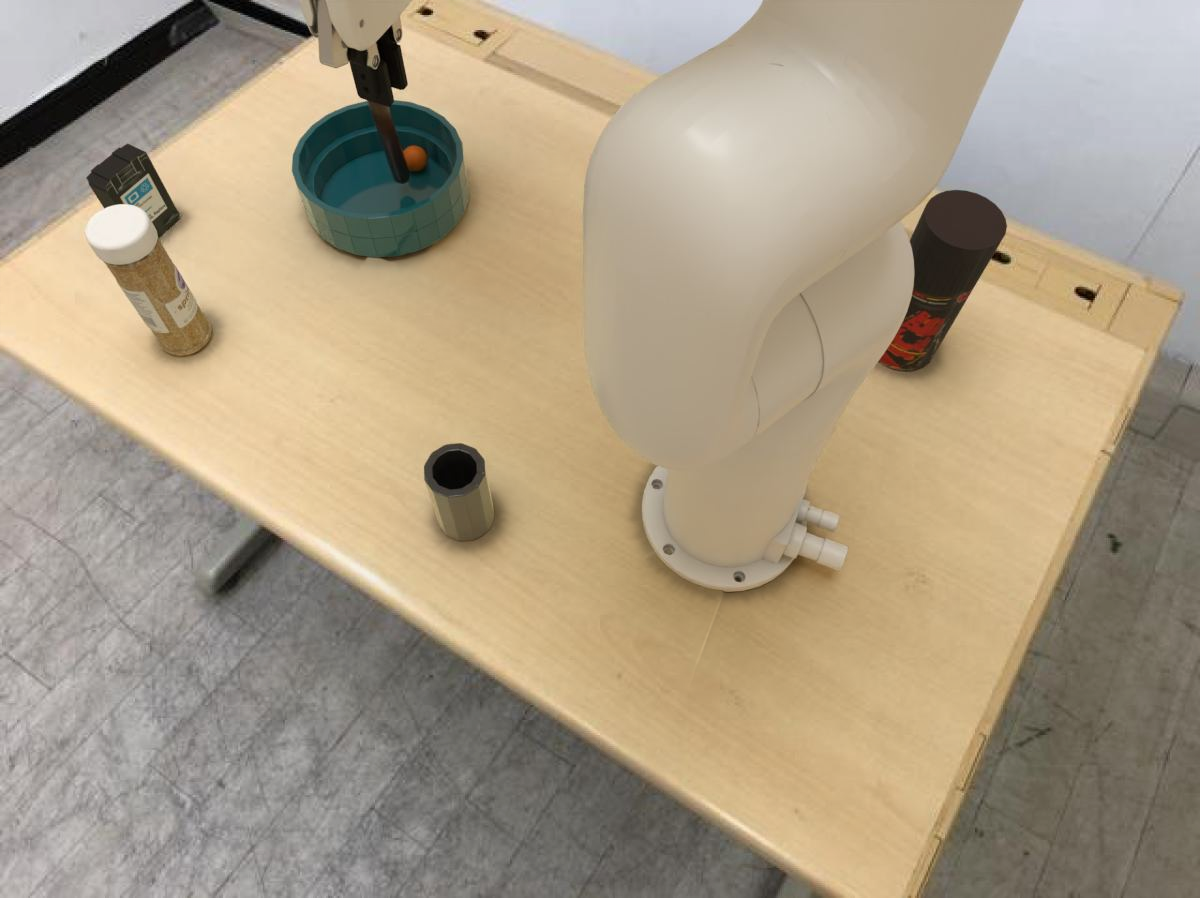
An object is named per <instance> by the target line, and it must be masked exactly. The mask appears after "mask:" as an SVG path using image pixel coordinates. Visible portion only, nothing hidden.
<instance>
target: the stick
mask: <svg viewBox="0 0 1200 898" xmlns="http://www.w3.org/2000/svg"><path fill="white" fill-rule="evenodd" d="M366 101H367V102H368V105H369V108H370V111H371V114H372V117H373V120H374V122H375V125H376V128H377V131H378V134H379V137H380V140H381V143H382V146H383V149H384V152H385V155H386V158H387V161H388V164H389V167H390V170H391V173H392V176H393V179H394V180H395V181H396V182H397V183H399V184H405V183H407V182H408V181H409V178H410V173H409V169H408V166H407V163H406V160H405V157H404V153H403V150H402V147H401V144H400V141H399V138H398V134H397V131H396V128H395V125H394V122H393V119H392V115H391V112H390V109H389V107H387V106H384V105H381V104H377V103H374V102H371V101H368V100H366Z"/></svg>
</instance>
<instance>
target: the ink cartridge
mask: <svg viewBox="0 0 1200 898" xmlns="http://www.w3.org/2000/svg"><path fill="white" fill-rule="evenodd" d="M85 179H86V180H87V182H88V185H89V187H90V189H91V191H92V192H93V193H94V195H95V196H96V198H97V199H98V201H99V202H100V204H101V206H102V208H103V209H104V208H106V207H109V206H113V205H118V204H129V205H134V206H137V207H139V208H141V209H142V210H143V211H145V213H146V214H147V215H148V217H149V218H150V220H151V221H152V223H153V225H154V227H155V228H156V230H157V234H158V239H160V237H161V236H162V235H163V234H164V233H166V232H167V231H168V230H169V229H170V228H172V226H174V225H175V224H176V223H177V222H178V220H179V219H180V214H181V213H180V211H179V210H178V209H177V206H176V205H175V203H174V201H173V200H172V198H171V195H170V194H169V192H168V190H167V188H166V186H165V184H164V182H163V181H162V179H161V177H160V175H159V173H158V171H157V169H156V168H155V166H154V164H153V162H152V160H151V158H150V157H149V154H148V153H147V151H145V150H143V149H140V148H138V147H136V146H134V145H132V144H130V143H126V144H124V145H123V146H122V147H120V146H119V147H118V148H117V149H115V150H113V151H112V152H111V154H110V155H109V156H107V157H106V158H105V159H104V160H102V162H100V163H99V164H97V165H95V166H94V167H93V168H92V169H91V170H90V172H89V174H88V175H87V176H86V177H85Z"/></svg>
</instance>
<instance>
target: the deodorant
mask: <svg viewBox="0 0 1200 898" xmlns="http://www.w3.org/2000/svg"><path fill="white" fill-rule="evenodd" d="M1007 229H1008V224H1007V219H1006V216H1005V215H1004V213H1003V210H1001V209H1000V207H999V206H997V204H996V203H994V202H993V201H992V200H990V198H988V197H986V196H983V195H982V194H980V193H977V192H973V191H970V190H966V189H965V190H963V189H951V190H944V191H941V192H939V193H937V194H935V195H933V196H932V197H931V198H929V200H928V201H927V203H926V204H925V206H924V208H923V211H922V213H921V214H920V217H919V220H918V222H917V224H916V226H915V228H914V230H913V233H912V235H911V237H910V238H909V241H910V244H911V247H912V252H913V258H914V286H913V292H912V297H911V300H910V304H909V307H908V310H907V313H906V315H905V318H904V320H903V322H902V324H901V326H900V328H899V330H898V332H897V334H896V335H895V337H894V339H893V340H892V342H891V343H890V345H889V347H888V348H887V350H886V351H885V353H884V354H883V355H882V357H881V358H880V360H879V361H878V362H879V363H880V364H881V365H883V366H884V367H886V368H889V369H892V370H895V371H899V372H914V371H918V370H920V369H923V368H925V367H926V366H927V365H928V364H930V363H931V361H932V360H933V358H934V356H935V355H936V353H937V352H938V350H939V348H940V346H941V345H942V343H943V342H944V339H945V337H946V336H947V335H948V333H949V331H950V329H951V327H952V326H953V325H954V323H955V321H956V319H957V317H958V316H959V314H960V313H961V311H962V309H963V307H964V305H965V304H966V302H967V300H968V299H969V297H970V295H971V294H972V292H973V290H974V288H975V287H976V285H977V284H978V281H979V280H980V279H981V277H982V276H983V274H984V271H985V269H986V268H987V266H988V265H989V263H990V261H991V260H992V258H993V256H994V255H995V253H996V251H997V249H998V248H999V246H1000V244H1001V243H1002V241H1003V239H1004V238H1005V235H1006V234H1007Z"/></svg>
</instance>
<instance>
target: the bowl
mask: <svg viewBox="0 0 1200 898" xmlns="http://www.w3.org/2000/svg"><path fill="white" fill-rule="evenodd" d="M389 109H390V112H391V115H392V119H393V122H394V125H395V128H396V131H397V134H398V138H399V141H400V144H401V147H402V150H403V151H404V150H405V149H406V148H407V147H409V146H413V145H414V146H419V147H421V148H422V149H423V150H424V151H425V152H426V155H427V164H426V166H425V168H424V169H422V170H421V171H418V172H413V171H410V170H409V173H410V178H409V181H408V182H407V183H405V184H399V183H397V182H396V181H395V180H394V179H393V176H392V173H391V170H390V167H389V164H388V161H387V158H386V155H385V152H384V149H383V146H382V143H381V140H380V137H379V134H378V131H377V128H376V125H375V122H374V120H373V117H372V114H371V111H370V108H369V105H368V102H367V100H364V101H361V102H357V103H353V104H349V105H346V106H343V107H341V108H338V109H336V110H334V111H332V112H330V113H327V114H326V115H324V116H323V117H321V118H320V119H318V120H317V121H316V122H315V123H313V124H312V125H311V126H310V127H309V128H308V129H307V130H306V132H305V133H303V135H302V136H301V137H300V138H299V140H298V142H297V143H296V147H295V149H294V151H293V153H292V159H291V160H292V162H291V173H292V176H293V179H294V182H295V185H296V187H297V190H298V193H299V196H300V198H301V201H302V204H303V207H304V209H305V212H306V215H307V218H308V220H309V223H310V225H311V227H312V228H313V229H314V231H315V232H316V233H317V234H318V236H319V237H320V238H321V239H322V240H324V241H325V242H327V243H328V244H330V245H331V246H333V247H334V248H335V249H337V250H340V251H344V252H347V253H349V254H353V255H356V256H359V257H360V256H361V257H370V258H389V257H400V256H404V255H407V254H412V253H415V252H418V251H421V250H423V249H426V248H427V247H430V246H432V245H433V244H435V243H438V242H439V241H440V240H442V239H443V238H444V237H446V236H447V235H448V234H449V233H451V231H453V230H454V229H455V228H456V226H457V225H458V223H459V222H460V221H461V219H462V218H463V216H464V214H465V213H466V211H467V210H466V209H467V206H468V203H469V199H470V193H469V192H470V190H469V179H468V173H467V166H466V159H465V152H464V145H463V141H462V139H461V137H460V134H459V133H458V130H457V129H456V128H455V126H454V125H452V123H450V121H449V120H448V119H447V118H446V117H445V116H444V115H442V114H440V113H438V112H437V111H435V110H433V109H432V108H430V107H427V106H424V105H422V104H417V103H415V102H412V101H406V100H396V99H394V103H393V104H392V105H391V106H390V107H389Z"/></svg>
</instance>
